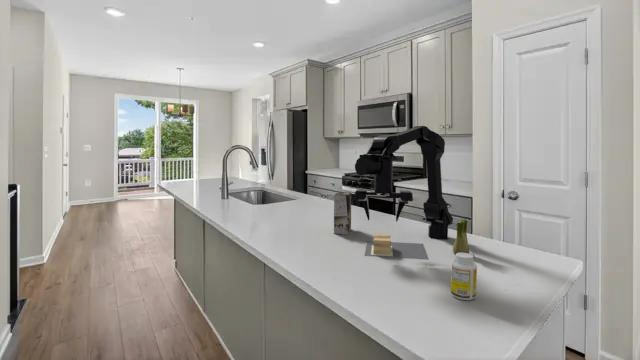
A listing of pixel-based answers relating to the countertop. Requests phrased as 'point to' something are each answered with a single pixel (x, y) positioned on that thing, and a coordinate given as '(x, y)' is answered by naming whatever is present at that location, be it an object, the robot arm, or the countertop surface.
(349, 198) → the coffee box
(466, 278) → the supplement bottle
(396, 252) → the mat
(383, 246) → the oak block
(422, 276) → the countertop surface
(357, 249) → the countertop surface
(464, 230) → the fennel bulb
